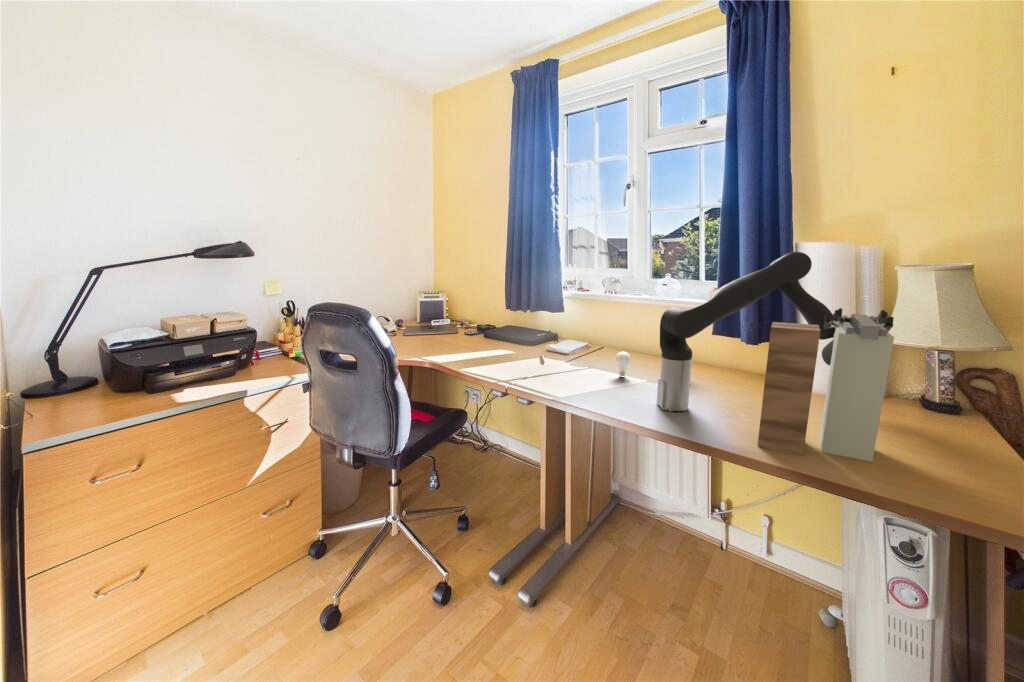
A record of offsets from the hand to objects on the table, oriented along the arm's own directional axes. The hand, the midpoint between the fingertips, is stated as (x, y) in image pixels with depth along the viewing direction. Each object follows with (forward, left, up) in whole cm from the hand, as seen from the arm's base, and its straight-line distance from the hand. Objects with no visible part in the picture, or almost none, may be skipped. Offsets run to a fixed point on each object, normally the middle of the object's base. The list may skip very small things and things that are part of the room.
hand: (861, 312), depth 107 cm
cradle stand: (-3, -6, -35) cm, 36 cm away
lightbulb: (-48, +58, -35) cm, 83 cm away
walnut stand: (-18, -3, -35) cm, 39 cm away
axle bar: (-3, -6, -4) cm, 8 cm away
